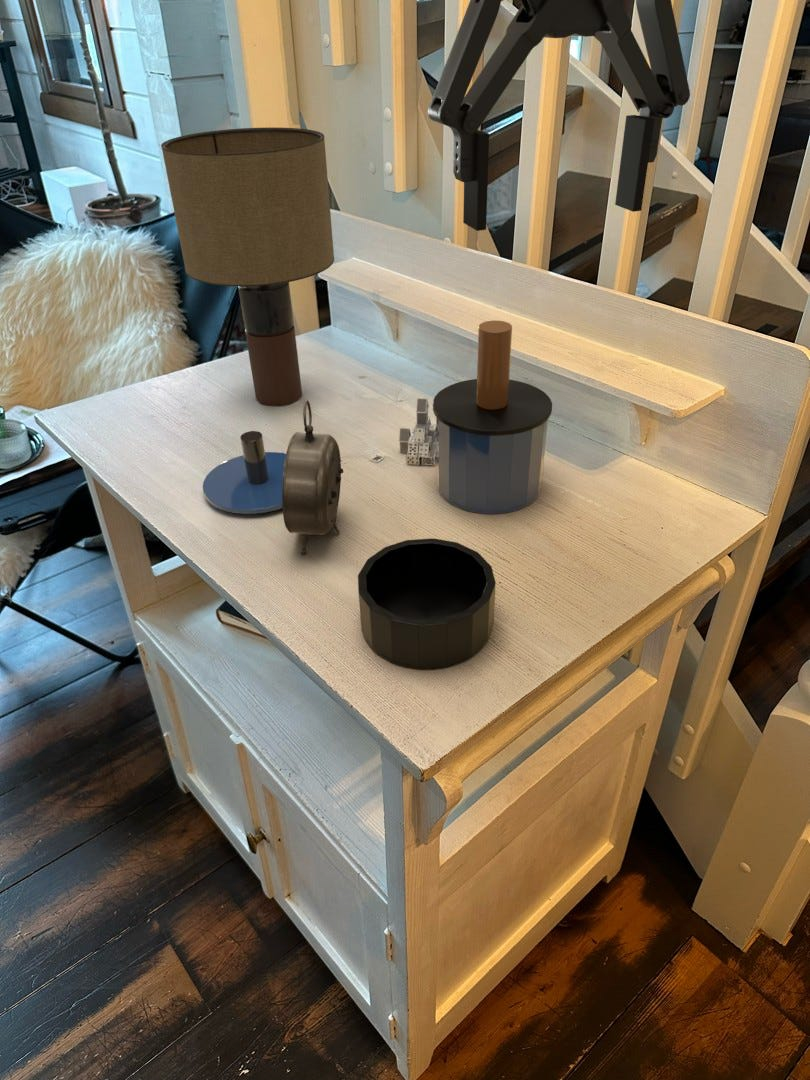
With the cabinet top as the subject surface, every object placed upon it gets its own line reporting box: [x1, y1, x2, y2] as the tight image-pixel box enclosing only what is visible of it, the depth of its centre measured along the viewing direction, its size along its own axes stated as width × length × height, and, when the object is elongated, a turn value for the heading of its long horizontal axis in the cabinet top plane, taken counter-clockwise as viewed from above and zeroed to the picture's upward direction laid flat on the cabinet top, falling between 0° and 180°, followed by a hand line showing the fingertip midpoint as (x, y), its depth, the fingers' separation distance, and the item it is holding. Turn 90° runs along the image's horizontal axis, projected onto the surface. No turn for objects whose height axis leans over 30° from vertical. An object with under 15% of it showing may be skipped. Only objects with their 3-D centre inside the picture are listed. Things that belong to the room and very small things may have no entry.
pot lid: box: [202, 430, 286, 515], centre depth 92 cm, size 14×14×7 cm
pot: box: [435, 416, 549, 515], centre depth 90 cm, size 13×13×10 cm
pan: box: [357, 538, 497, 671], centre depth 72 cm, size 13×13×6 cm
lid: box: [432, 320, 553, 436], centre depth 84 cm, size 14×14×10 cm
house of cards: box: [369, 397, 437, 467], centre depth 99 cm, size 9×9×8 cm
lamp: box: [160, 127, 335, 407], centre depth 105 cm, size 20×20×35 cm
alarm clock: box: [281, 399, 344, 556], centre depth 81 cm, size 11×5×16 cm, turn 174°
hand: (553, 217), depth 60 cm, fingers open, 13 cm apart
